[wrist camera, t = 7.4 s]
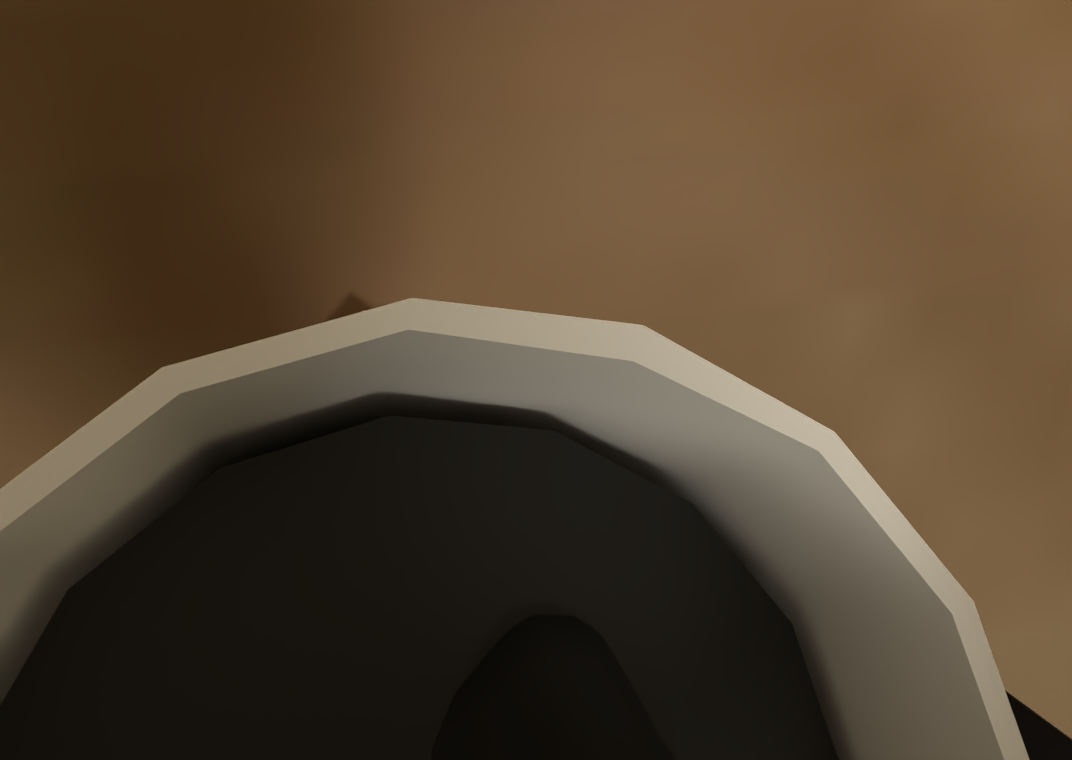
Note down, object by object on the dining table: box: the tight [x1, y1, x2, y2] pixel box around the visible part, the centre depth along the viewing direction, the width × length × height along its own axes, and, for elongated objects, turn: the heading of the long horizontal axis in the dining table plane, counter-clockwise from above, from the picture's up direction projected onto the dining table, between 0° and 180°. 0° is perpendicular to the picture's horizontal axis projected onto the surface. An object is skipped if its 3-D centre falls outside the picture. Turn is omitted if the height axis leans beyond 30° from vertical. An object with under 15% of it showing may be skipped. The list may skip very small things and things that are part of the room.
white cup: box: [0, 298, 1029, 760], centre depth 10 cm, size 7×7×10 cm
